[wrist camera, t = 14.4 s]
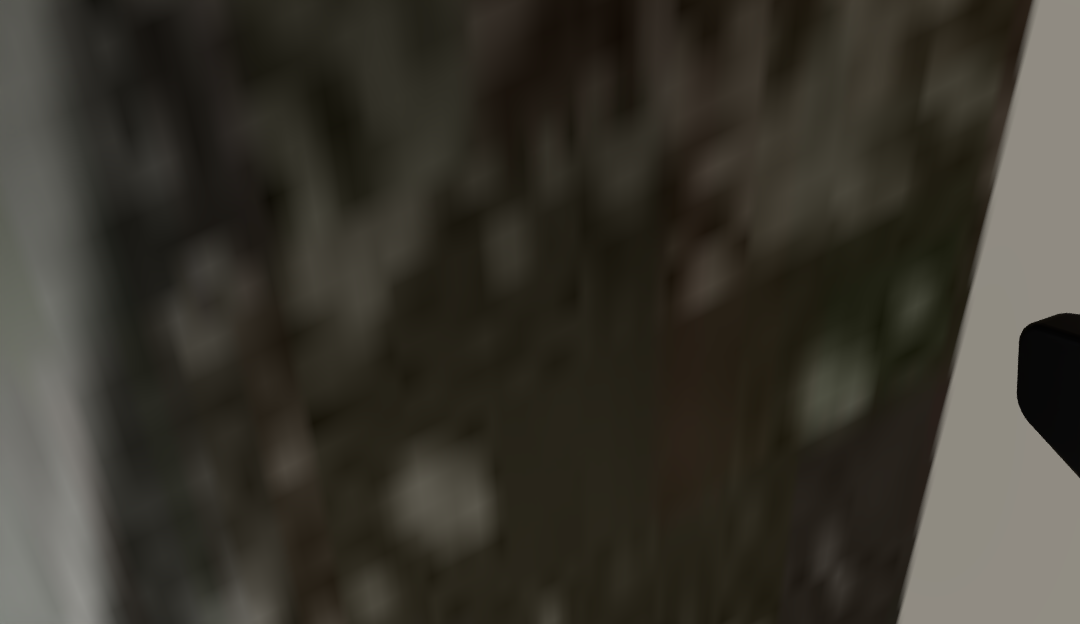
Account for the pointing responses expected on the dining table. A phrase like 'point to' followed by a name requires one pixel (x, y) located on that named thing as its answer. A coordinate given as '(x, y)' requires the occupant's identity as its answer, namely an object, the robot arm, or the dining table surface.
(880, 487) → the dining table surface
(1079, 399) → the robot arm
